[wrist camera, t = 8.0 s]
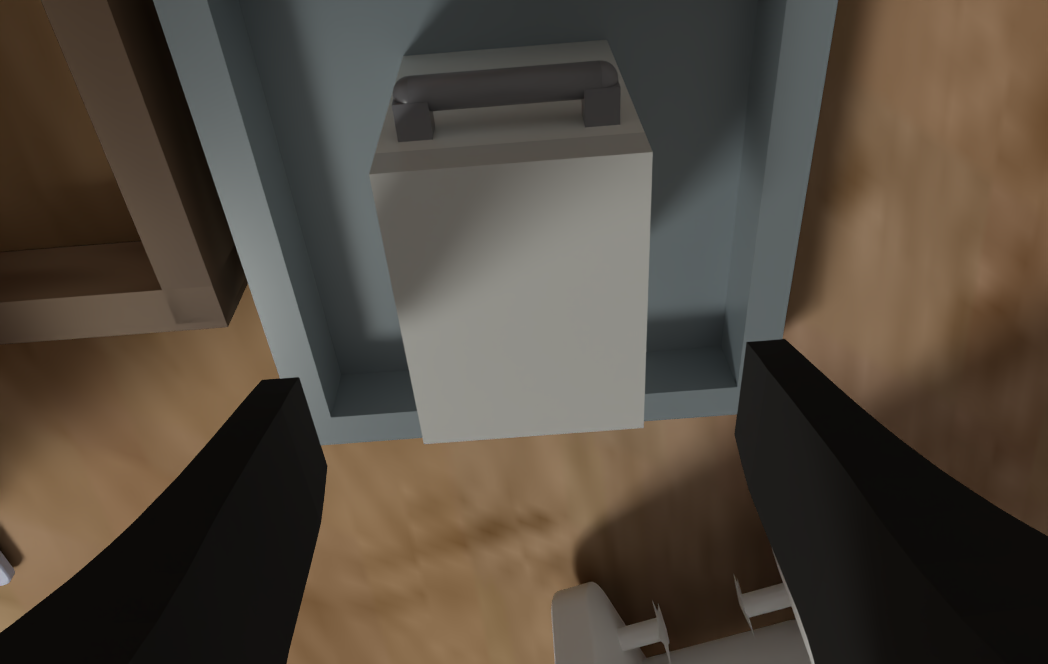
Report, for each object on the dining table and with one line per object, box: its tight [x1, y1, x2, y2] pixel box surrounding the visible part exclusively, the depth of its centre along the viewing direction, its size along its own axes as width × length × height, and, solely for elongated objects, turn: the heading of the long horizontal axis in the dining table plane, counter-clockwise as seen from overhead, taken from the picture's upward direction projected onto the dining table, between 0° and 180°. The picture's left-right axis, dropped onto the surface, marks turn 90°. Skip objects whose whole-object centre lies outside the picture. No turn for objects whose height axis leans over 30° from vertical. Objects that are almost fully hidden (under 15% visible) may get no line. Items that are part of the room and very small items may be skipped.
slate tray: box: [153, 0, 838, 445], centre depth 19 cm, size 13×13×2 cm
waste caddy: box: [369, 40, 653, 444], centre depth 16 cm, size 4×7×6 cm, turn 4°
